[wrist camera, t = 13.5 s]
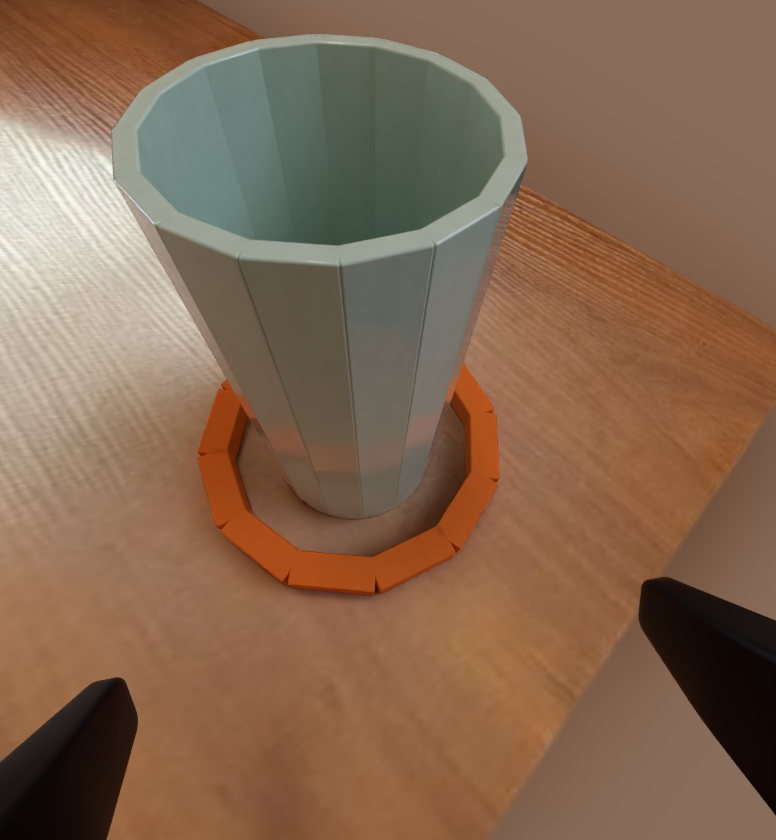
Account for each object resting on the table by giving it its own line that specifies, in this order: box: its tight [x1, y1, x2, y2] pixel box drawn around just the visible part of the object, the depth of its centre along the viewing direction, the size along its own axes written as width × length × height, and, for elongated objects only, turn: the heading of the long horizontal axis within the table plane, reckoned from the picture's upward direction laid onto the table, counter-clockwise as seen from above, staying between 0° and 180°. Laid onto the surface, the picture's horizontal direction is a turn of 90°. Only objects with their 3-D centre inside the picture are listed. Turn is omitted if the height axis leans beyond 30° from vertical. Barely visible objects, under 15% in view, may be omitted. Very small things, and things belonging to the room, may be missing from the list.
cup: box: [111, 34, 528, 519], centre depth 13 cm, size 7×7×13 cm
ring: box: [197, 363, 499, 595], centre depth 18 cm, size 12×12×1 cm
